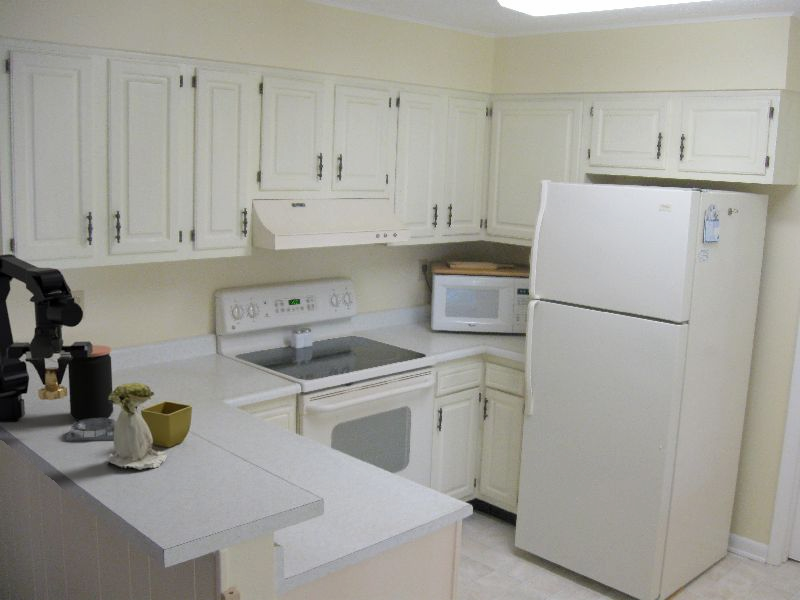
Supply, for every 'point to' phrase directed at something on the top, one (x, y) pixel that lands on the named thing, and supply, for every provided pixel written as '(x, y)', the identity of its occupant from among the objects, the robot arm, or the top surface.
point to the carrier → (92, 430)
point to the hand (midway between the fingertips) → (52, 384)
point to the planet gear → (52, 386)
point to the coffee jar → (91, 384)
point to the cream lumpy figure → (133, 429)
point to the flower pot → (168, 422)
